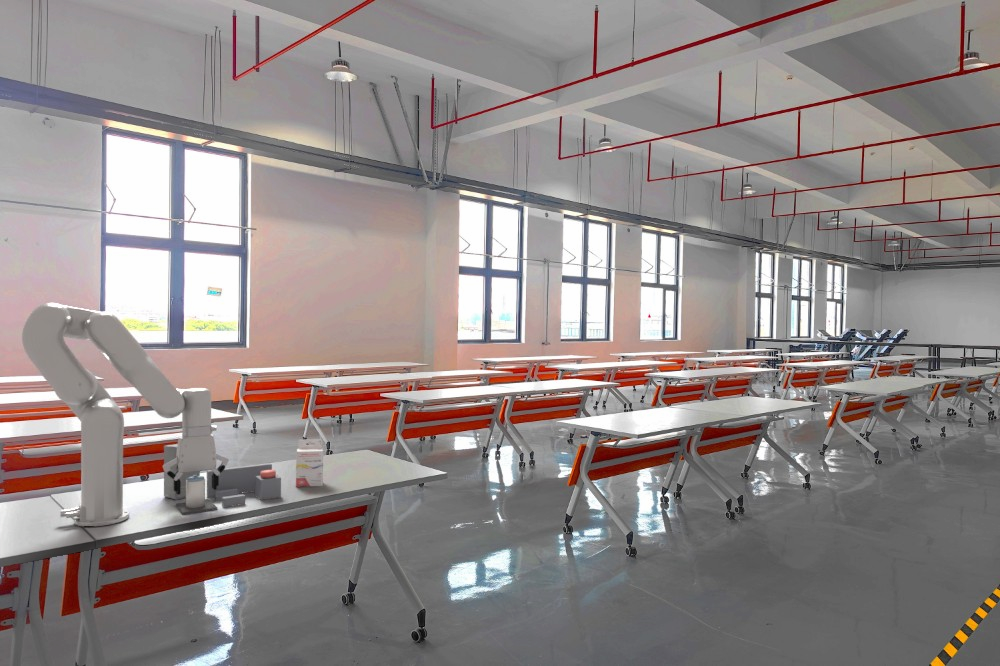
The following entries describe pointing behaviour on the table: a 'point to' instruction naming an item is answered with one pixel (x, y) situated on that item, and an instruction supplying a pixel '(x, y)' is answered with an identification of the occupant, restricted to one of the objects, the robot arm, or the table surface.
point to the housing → (243, 484)
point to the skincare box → (169, 455)
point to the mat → (208, 507)
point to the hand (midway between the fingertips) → (196, 491)
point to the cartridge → (195, 492)
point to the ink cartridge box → (309, 463)
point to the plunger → (268, 474)
